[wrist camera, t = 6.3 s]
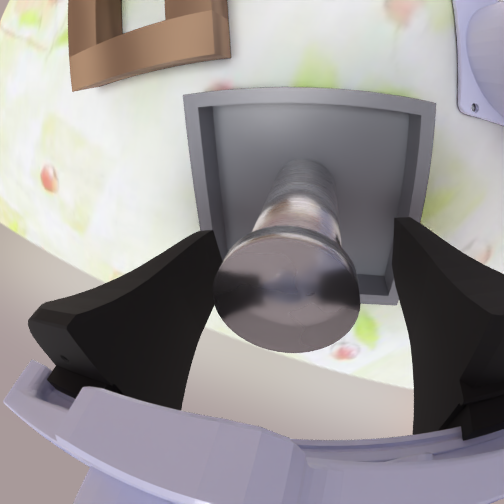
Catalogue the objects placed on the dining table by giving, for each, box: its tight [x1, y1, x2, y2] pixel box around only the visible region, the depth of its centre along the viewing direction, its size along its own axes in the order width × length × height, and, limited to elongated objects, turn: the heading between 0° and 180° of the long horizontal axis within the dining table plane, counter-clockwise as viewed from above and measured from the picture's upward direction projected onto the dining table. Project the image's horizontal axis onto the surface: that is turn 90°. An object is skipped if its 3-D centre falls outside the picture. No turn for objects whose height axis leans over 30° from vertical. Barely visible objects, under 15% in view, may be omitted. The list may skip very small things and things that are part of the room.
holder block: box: [68, 0, 231, 92], centre depth 10 cm, size 9×9×2 cm
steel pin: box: [212, 159, 360, 353], centre depth 11 cm, size 4×4×9 cm
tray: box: [183, 87, 436, 305], centre depth 15 cm, size 11×11×2 cm
